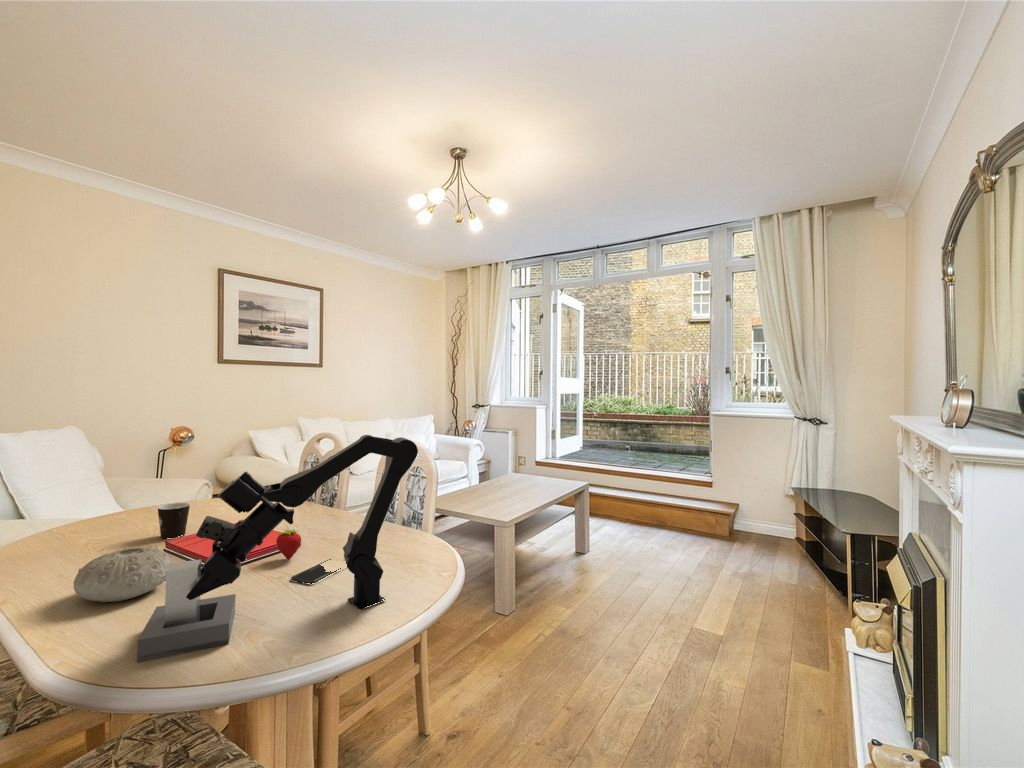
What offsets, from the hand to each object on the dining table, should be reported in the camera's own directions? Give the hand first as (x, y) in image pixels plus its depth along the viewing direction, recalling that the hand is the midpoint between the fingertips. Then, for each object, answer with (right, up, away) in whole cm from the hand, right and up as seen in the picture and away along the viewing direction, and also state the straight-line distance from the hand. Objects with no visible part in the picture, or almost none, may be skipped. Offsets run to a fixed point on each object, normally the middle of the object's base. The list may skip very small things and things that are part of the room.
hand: (192, 589), depth 91 cm
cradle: (0, -9, 0) cm, 9 cm away
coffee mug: (-48, -10, +58) cm, 76 cm away
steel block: (-1, -8, -1) cm, 8 cm away
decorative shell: (-29, -9, +18) cm, 35 cm away
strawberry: (-1, -10, +41) cm, 42 cm away
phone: (+13, -11, +32) cm, 36 cm away
